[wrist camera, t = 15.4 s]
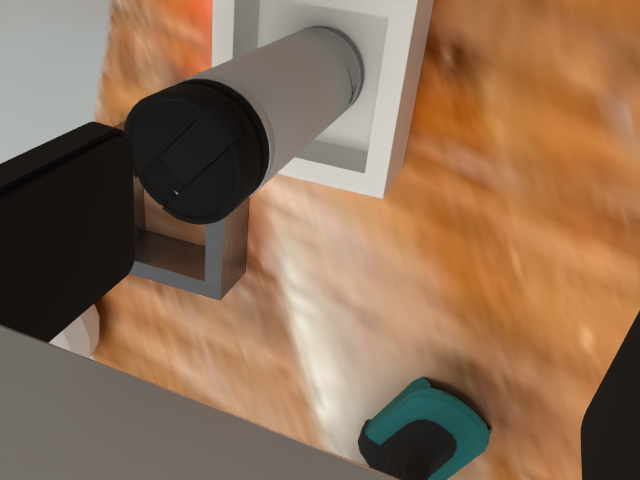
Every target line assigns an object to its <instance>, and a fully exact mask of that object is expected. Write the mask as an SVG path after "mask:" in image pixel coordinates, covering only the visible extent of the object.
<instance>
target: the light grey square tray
mask: <svg viewBox="0 0 640 480" xmlns="http://www.w3.org/2000/svg"><path fill="white" fill-rule="evenodd" d="M433 3H434V0H213V28H212V68H213V67H215V66H217V65H220V64H222V63H224V62H227V61H229V60H231V59H234V58H236V57H239V56H241V55H243V54H246V53H248V52H250V51H253V50H255V49H258V48H260V47H262V46H265V45H267V44H269V43H272V42H274V41H276V40H279V39H281V38H284V37H286V36H288V35H291V34H293V33H295V32H298V31H300V30H303V29H305V28H308V27H312V26H326V27H331V28H334V29H336V30H338V31H340V32H342V33H343V34H344V35H346V36H347V37H348V38H349V39H350V40H351V41H352V42H353V43H354V44H355V46H356V48H357V49H358V51H359V53H360V55H361V58H362V61H363V66H364V83H363V88H362V90H361V93H360V95H359V97H358V98H357V100H356V101H355V103H354V104H353V105H352V106H351V107H350V108H349V109H348V110H346V111H345V112H344V113H343V114H342V115H341V116H340V117H339V118H338V119H336V120H335V121H334V122H333V123H332V124H331V125H330V126H329V127H328V128H326V129H325V130H324V131H323V132H322V133H321V134H320V135H319V136H318V137H317V138H315V139H314V140H313V141H312V142H311V143H310V144H309V145H308V146H307V147H305V148H304V149H303V150H302V151H301V152H300V153H299V154H298V155H297V156H295V157H294V158H293V159H292V160H291V161H290V162H289V163H288V164H287V165H285V166H284V167H283V168H282V169H281V170H280V171H279V172H278V173H277V174H281V175H285V176H289V177H294V178H298V179H302V180H306V181H310V182H314V183H319V184H323V185H327V186H331V187H335V188H339V189H343V190H348V191H352V192H356V193H360V194H364V195H368V196H373V197H377V198H381V199H383V198H384V196H385V195H386V193H387V191H388V190H389V188H390V187H391V185H392V183H393V182H394V180H395V179H396V177H397V175H398V174H399V172H400V171H401V169H402V167H403V163H404V158H405V153H406V147H407V142H408V137H409V131H410V126H411V121H412V115H413V110H414V105H415V99H416V94H417V89H418V83H419V78H420V73H421V67H422V62H423V57H424V51H425V46H426V41H427V35H428V30H429V25H430V19H431V14H432V9H433Z"/></svg>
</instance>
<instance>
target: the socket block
mask: <svg viewBox="0 0 640 480" xmlns="http://www.w3.org/2000/svg"><path fill="white" fill-rule="evenodd" d="M125 122H126V121H124V122H122V123H120V124H118V125H116V126H114V127H115V128H118V129H121V130H123V131H124V125H125ZM133 182H134V240H135V260H134V264H133V267H132V269H131V271H130V272H129V273H130V274H133V275H136V276H140V277H143V278H146V279H150V280H153V281H156V282H160V283H163V284H166V285H170V286H173V287H176V288H180V289H183V290H186V291H190V292H193V293H196V294H200V295H203V296H206V297H210V298H213V299H216V300H220V301H221V299H222V298H223V297H224V296H225V295H226V294H227V293H228V292H229V290H230V289H231V288H232V287H233V286H234V285H235V284H236V282H237V281H238V280H239V279H240V278H241V277H242V276H243V275H244V273H245V269H246V251H247V233H248V216H249V198H250V197H249V198H247V199H246V200H245V201H244V202H243V203H241V204H240V205H239V206H238V207H237V208H236V209H235V210H234V211H233V212H231V213H230V214H229V215H228V216H227V217H225V218H224V219H222V220H220V221H218V222H215V223H211V224H206V244H205V247H202V246H199V245H195V244H192V243H188V242H185V241H181V240H177V239H174V238H170V237H167V236H163V235H159V234H156V233H152V232H149V231H145V218H144V191H143V186H142V185H141V183H140V180H139V178H138V177H136V178H135V176H134V174H133Z"/></svg>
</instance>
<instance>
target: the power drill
mask: <svg viewBox="0 0 640 480" xmlns="http://www.w3.org/2000/svg"><path fill="white" fill-rule="evenodd" d="M430 386H431V385H430V383H429V382H428V381H427V380H426V379H425V378H424V377H421V378H419V379H417V380H415V381H413V382H412V383H411V384H410V385H409V386H408V387H407V388H406V389H405V390H404V391H402V392H401V393H400V394H399V395H398V396H397V397H396V398H395V399H394V400H393V401H392V402H391V403H389V404H388V405H387V406H386V407H385V408H384V409H383V410H382V411H381V412H380V413H379V414H377V415H376V416H375V417H374V418H373V419H372V420H366V422H365V424H364V426H363V428H362V431H361V433H360V436H359V439H358V445H359V450H360V453H361V454H362V456H363V457H364V459H365V460H366V462H367V463H368V465H369V467H370V468H372V469H375V470H377V471H380V472H382V473H385V474H387V475H390V476H393V477H395V478H398V479H400V480H446V479H448V478H449V477H450V476H452V475H453V474H455V473H456V472H457V471H459V470H460V469H461V468H463V467H464V466H465V465H467V464H468V463H469V462H471V461H472V460H473V459H475V458H476V457H477V456H479V455H480V454H481V453H482V452H484V451H485V449H486V447H487V445H488V443H489V436H490V434H491V431H492V429H489V430H488V428H487V426H486V424H485V423H484V421H483V420H482V419H481V418H480V417H479V416H478V415H477V413H476V412H475V411H473V410H472V409H471V408H470V407H469V406H468V405H466V404H465V403H463V402H462V401H460V400H459V399H457V398H456V397H454V396H452V395H450V394H448V393H446V392H444V391H442V390H438V389H434V388H430Z"/></svg>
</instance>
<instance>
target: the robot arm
mask: <svg viewBox="0 0 640 480" xmlns="http://www.w3.org/2000/svg"><path fill="white" fill-rule="evenodd" d="M134 260H135V240H134V182H133V146H132V143H131V141H130V140H129V139H127V137H126V135H125V132H124V131H123V130H121V129H118V128H115V127H111V126H108V125H104V124H101V123H97V122H94V121H93V122H89V123H87V124H85V125H83V126H81V127H78V128H76V129H74V130H72V131H70V132H68V133H66V134H63V135H61V136H59V137H57V138H55V139H53V140H51V141H49V142H46V143H44V144H42V145H40V146H38V147H35V148H33V149H31V150H29V151H27V152H25V153H23V154H21V155H18V156H16V157H14V158H12V159H10V160H8V161H6V162H3V163H1V164H0V480H400V479H398V478H395V477H393V476H390V475H387V474H385V473H382V472H380V471H377V470H375V469H372V468H370V467H367V466H365V465H362V464H359V463H357V462H354V461H352V460H349V459H347V458H344V457H342V456H339V455H337V454H334V453H331V452H329V451H326V450H324V449H321V448H319V447H316V446H314V445H311V444H309V443H306V442H304V441H301V440H298V439H296V438H293V437H291V436H288V435H286V434H283V433H280V432H278V431H275V430H273V429H270V428H268V427H265V426H262V425H260V424H257V423H255V422H252V421H250V420H247V419H244V418H242V417H239V416H237V415H234V414H232V413H229V412H226V411H224V410H221V409H219V408H216V407H213V406H211V405H208V404H206V403H203V402H201V401H198V400H195V399H193V398H190V397H188V396H185V395H182V394H180V393H177V392H175V391H172V390H170V389H167V388H164V387H162V386H159V385H157V384H154V383H151V382H149V381H146V380H144V379H141V378H138V377H136V376H133V375H131V374H128V373H125V372H123V371H120V370H118V369H115V368H113V367H110V366H107V365H105V364H102V363H99V362H97V361H94V360H92V359H89V358H86V357H84V356H81V355H79V354H76V353H73V352H71V351H68V350H66V349H63V348H60V347H58V346H55V345H52V344H50V343H49V342H50V341H51V340H52V339H54V338H55V337H56V336H57V335H58V334H59V333H61V332H62V331H63V330H64V329H65V328H66V327H68V326H69V325H70V324H71V323H72V322H73V321H75V320H76V319H77V318H78V317H79V316H80V315H82V314H83V313H84V312H85V311H86V310H87V309H89V308H90V307H91V306H92V305H93V304H94V303H96V302H97V301H98V300H99V299H100V298H101V297H103V296H104V295H105V294H106V293H107V292H108V291H110V290H111V289H112V288H113V287H114V286H115V285H117V284H118V283H119V282H120V281H121V280H122V279H124V278H125V277H126V276H127V275H128V274H129V272H130V271H131V269H132V267H133V264H134ZM581 460H582V480H640V311H639V313H638V315H637V317H636V319H635V320H634V322H633V324H632V326H631V328H630V330H629V332H628V334H627V335H626V337H625V339H624V341H623V343H622V345H621V347H620V349H619V350H618V352H617V354H616V356H615V358H614V360H613V362H612V364H611V365H610V367H609V369H608V371H607V373H606V375H605V377H604V379H603V380H602V382H601V384H600V386H599V388H598V390H597V392H596V394H595V395H594V397H593V399H592V401H591V403H590V405H589V407H588V409H587V410H586V413H585V415H584V418H583V421H582V426H581Z"/></svg>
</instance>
